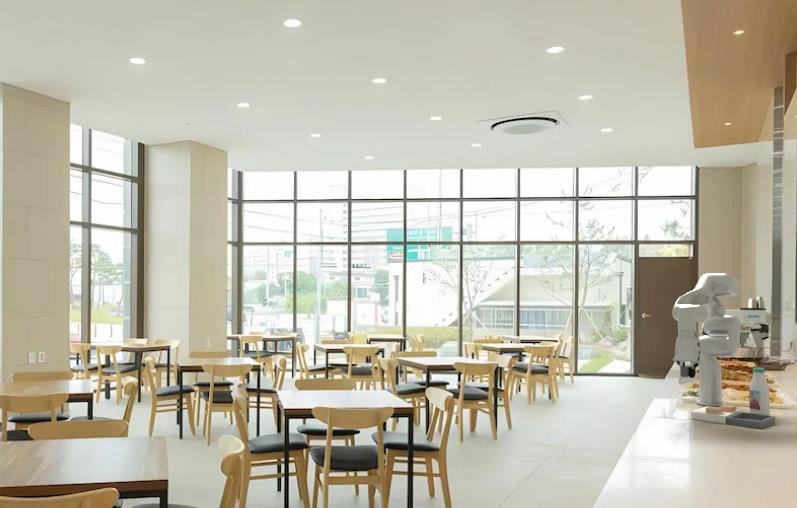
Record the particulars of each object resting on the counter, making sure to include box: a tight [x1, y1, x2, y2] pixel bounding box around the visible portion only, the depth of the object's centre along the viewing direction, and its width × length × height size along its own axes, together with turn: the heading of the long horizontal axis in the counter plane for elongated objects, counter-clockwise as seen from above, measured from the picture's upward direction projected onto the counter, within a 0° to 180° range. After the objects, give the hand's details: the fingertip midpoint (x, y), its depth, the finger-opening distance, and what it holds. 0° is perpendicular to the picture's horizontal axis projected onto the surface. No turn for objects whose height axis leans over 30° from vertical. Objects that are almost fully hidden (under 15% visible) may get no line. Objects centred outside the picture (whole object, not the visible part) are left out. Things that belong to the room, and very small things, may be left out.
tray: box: [726, 411, 776, 430], centre depth 291 cm, size 16×13×2 cm
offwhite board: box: [690, 405, 741, 424], centre depth 301 cm, size 16×14×3 cm
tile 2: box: [718, 404, 737, 412], centre depth 301 cm, size 5×5×2 cm
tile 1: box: [706, 406, 723, 414], centre depth 297 cm, size 5×5×2 cm
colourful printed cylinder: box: [748, 367, 771, 416], centre depth 307 cm, size 8×8×20 cm
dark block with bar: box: [678, 364, 698, 385], centre depth 309 cm, size 15×3×7 cm, turn 133°
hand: (688, 376), depth 309 cm, fingers closed on dark block with bar, 3 cm apart
